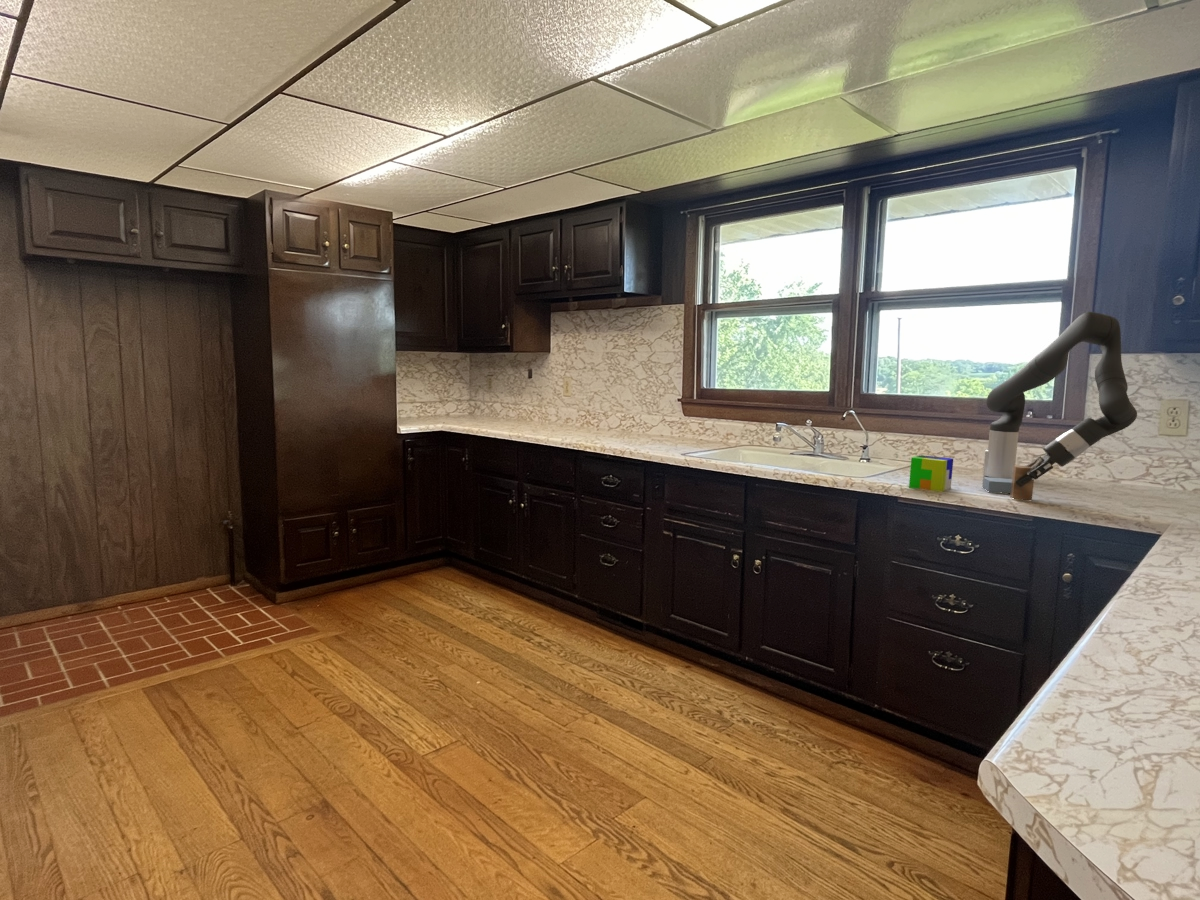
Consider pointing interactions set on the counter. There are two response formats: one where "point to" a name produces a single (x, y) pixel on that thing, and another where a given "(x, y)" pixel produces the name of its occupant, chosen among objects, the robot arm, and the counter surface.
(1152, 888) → the counter surface
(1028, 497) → the walnut block
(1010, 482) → the slate plinth
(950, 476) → the puzzle toy
